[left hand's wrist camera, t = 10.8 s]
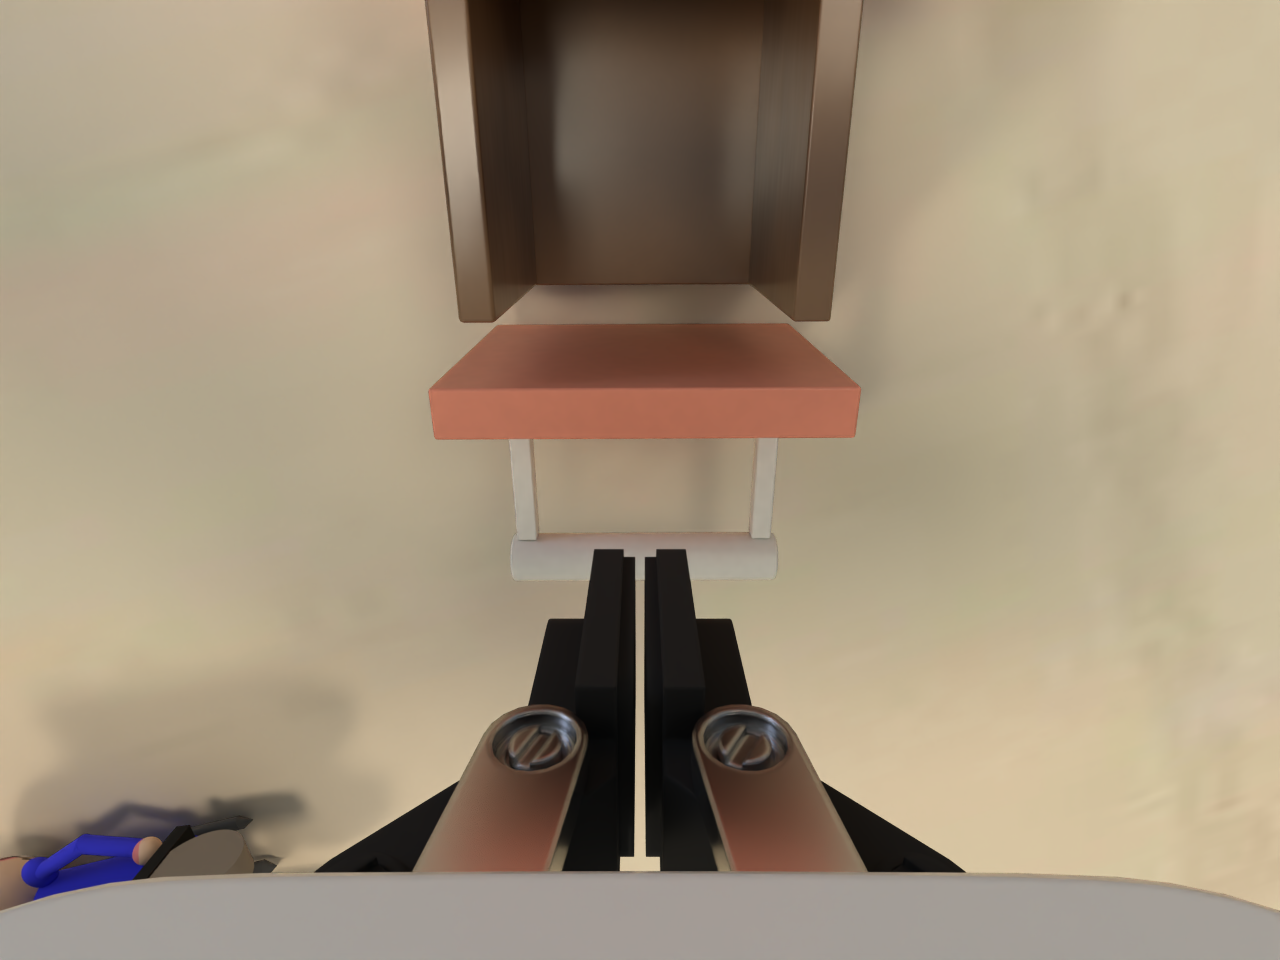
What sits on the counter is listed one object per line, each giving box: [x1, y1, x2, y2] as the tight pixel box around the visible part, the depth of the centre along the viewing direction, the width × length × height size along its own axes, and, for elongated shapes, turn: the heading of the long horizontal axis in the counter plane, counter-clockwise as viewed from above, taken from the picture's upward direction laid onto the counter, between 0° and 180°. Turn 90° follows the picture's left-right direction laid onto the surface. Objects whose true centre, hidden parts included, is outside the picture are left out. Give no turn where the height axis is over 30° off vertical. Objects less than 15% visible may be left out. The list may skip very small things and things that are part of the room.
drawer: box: [425, 0, 863, 581], centre depth 16 cm, size 25×10×8 cm, turn 0°
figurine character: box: [0, 816, 277, 911], centre depth 28 cm, size 7×8×15 cm
